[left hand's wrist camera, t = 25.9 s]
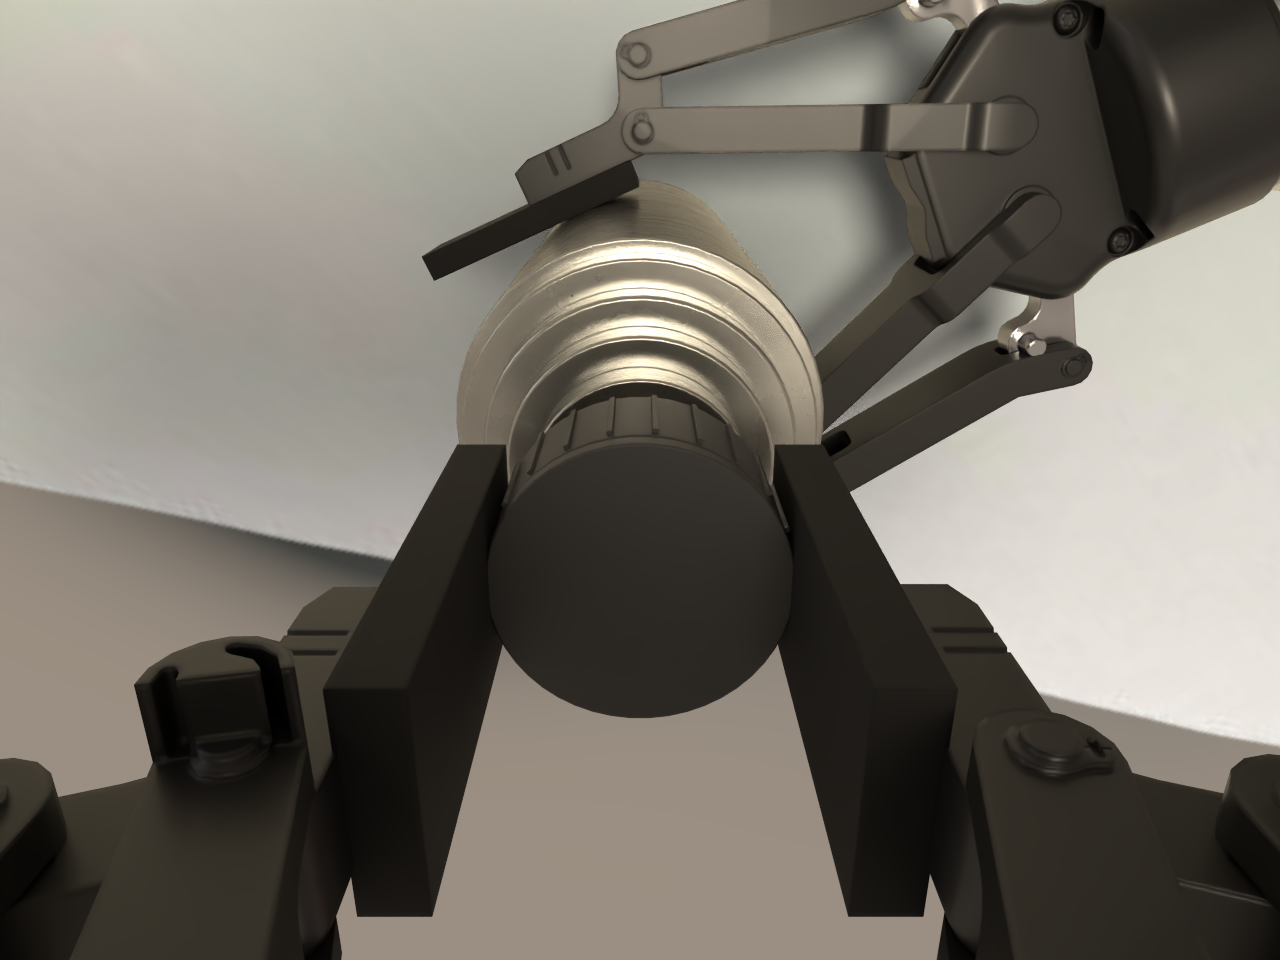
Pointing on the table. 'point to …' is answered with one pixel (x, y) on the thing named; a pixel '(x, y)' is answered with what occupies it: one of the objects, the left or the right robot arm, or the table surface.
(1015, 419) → the table surface
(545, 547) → the cap
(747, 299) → the bottle
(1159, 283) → the table surface
